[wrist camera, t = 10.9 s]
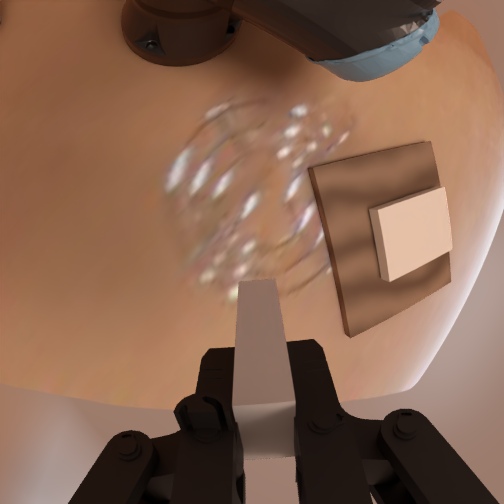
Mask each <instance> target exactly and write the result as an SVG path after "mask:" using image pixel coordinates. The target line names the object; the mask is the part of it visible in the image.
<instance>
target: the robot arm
mask: <svg viewBox="0 0 504 504" xmlns="http://www.w3.org/2000/svg"><path fill="white" fill-rule="evenodd" d="M442 1H443V0H126V2H125V5H124V7H123V10H122V16H121V24H122V30H123V34H124V37H125V40H126V42H127V44H128V45H129V47H130V48H131V49H132V50H133V51H134V52H135V53H136V54H138V55H139V56H140V57H142V58H144V59H146V60H148V61H150V62H153V63H156V64H160V65H166V66H187V65H193V64H198V63H201V62H204V61H207V60H209V59H211V58H213V57H215V56H217V55H218V54H220V53H221V52H223V51H224V50H225V49H226V48H227V47H228V46H229V45H230V44H231V43H232V41H233V40H234V38H235V37H236V35H237V33H238V30H239V28H240V26H241V23H242V19H244V20H246V21H248V22H250V23H252V24H253V25H255V26H257V27H259V28H261V29H263V30H264V31H266V32H268V33H270V34H272V35H273V36H275V37H277V38H278V39H280V40H282V41H283V42H285V43H287V44H288V45H290V46H292V47H293V48H295V49H297V50H298V51H300V52H301V53H303V54H304V55H305V57H306V58H307V59H308V60H309V61H311V62H312V63H316V64H318V65H321V66H323V67H324V68H326V69H328V70H329V71H331V72H332V73H334V74H335V75H337V76H338V77H340V78H342V79H344V80H350V81H355V82H364V81H370V80H374V79H377V78H380V77H382V76H385V75H387V74H389V73H391V72H393V71H395V70H397V69H398V68H400V67H402V66H403V65H405V64H406V63H408V62H409V61H411V60H412V59H413V58H414V57H416V56H417V55H418V54H419V53H420V52H421V51H422V46H423V45H425V44H427V43H430V42H431V40H432V39H433V38H434V36H435V35H436V33H437V30H438V27H439V17H438V15H437V13H436V10H435V8H434V7H436V6H437V5H438V4H440V3H441V2H442ZM174 414H175V417H176V419H177V421H178V424H179V426H180V428H181V430H179V431H177V432H176V433H173V434H170V435H166V436H162V437H157V438H152V439H150V438H149V437H148V436H147V435H146V434H144V433H142V432H140V431H133V430H130V431H124V432H121V433H119V434H117V435H115V436H114V437H113V438H112V439H111V440H110V441H109V442H108V443H107V445H106V447H105V448H104V450H103V451H102V453H101V454H100V456H99V457H98V459H97V460H96V462H95V463H94V465H93V466H92V468H91V469H90V471H89V472H88V474H87V475H86V477H85V478H84V480H83V481H82V483H81V484H80V486H79V488H78V489H77V491H76V492H75V494H74V495H73V497H72V498H71V500H70V501H69V503H68V504H245V473H244V469H243V463H244V462H243V461H244V459H245V460H255V459H270V458H281V457H291V456H295V459H296V482H297V485H298V486H297V487H298V495H299V504H373V502H372V498H371V494H372V496H373V498H374V499H375V501H376V502H377V504H499V503H498V501H497V500H496V499H495V498H494V497H493V496H492V494H491V493H490V492H489V491H488V490H487V488H486V487H485V486H484V484H483V483H482V482H481V481H480V480H479V479H478V477H477V476H476V475H475V474H474V473H473V471H472V470H471V469H470V468H469V467H468V465H467V464H466V463H465V462H464V461H463V460H462V458H461V457H460V456H459V455H458V454H457V453H456V451H455V450H454V449H453V448H452V447H451V445H450V444H449V443H448V442H447V441H446V440H445V438H444V437H443V436H442V435H441V434H440V433H439V432H438V430H437V429H436V428H435V427H434V426H433V425H432V423H431V422H430V421H429V420H428V419H427V418H426V417H425V416H424V415H423V414H421V413H420V412H418V411H415V410H412V409H399V410H396V411H392V412H391V413H390V414H388V415H387V416H386V417H385V418H384V420H369V419H360V418H357V417H354V416H351V415H349V414H348V413H347V412H345V411H344V409H343V408H342V407H341V405H340V403H339V401H338V397H337V394H336V390H335V387H334V384H333V380H332V377H331V374H330V370H329V367H328V364H327V361H326V357H325V354H324V351H323V348H322V347H321V346H320V345H319V344H318V343H317V342H316V341H315V340H314V339H308V340H300V341H290V342H286V338H285V332H284V326H283V320H282V314H281V308H280V302H279V297H278V291H277V285H276V279H264V280H252V281H241V282H239V287H238V304H237V321H236V339H235V347H228V348H210V349H209V350H208V351H207V352H206V353H205V355H204V356H203V357H202V359H201V364H200V372H199V375H198V381H197V387H196V393H195V394H192V395H190V396H188V397H185V398H184V399H182V400H181V401H180V402H179V403H178V404H177V406H176V408H175V410H174ZM370 493H371V494H370Z"/></svg>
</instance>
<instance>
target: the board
mask: <svg viewBox="0 0 504 504" xmlns="http://www.w3.org/2000/svg"><path fill="white" fill-rule="evenodd" d="M308 171H309V174H310V178H311V182H312V186H313V189H314V193H315V197H316V201H317V205H318V209H319V213H320V217H321V221H322V225H323V229H324V233H325V238H326V242H327V246H328V251H329V255H330V259H331V264H332V269H333V273H334V278H335V283H336V288H337V293H338V298H339V303H340V308H341V313H342V318H343V324H344V329H345V334H346V335H347V336H348V337H350V338H352V337H354V336H356V335H358V334H360V333H362V332H364V331H366V330H368V329H370V328H371V327H373V326H375V325H377V324H379V323H381V322H383V321H385V320H387V319H388V318H390V317H392V316H394V315H396V314H398V313H399V312H401V311H403V310H405V309H407V308H408V307H410V306H412V305H414V304H415V303H417V302H419V301H420V300H422V299H424V298H426V297H427V296H429V295H431V294H432V293H434V292H436V291H437V290H439V289H440V288H442V287H444V286H445V285H447V284H448V283H450V282H451V272H450V257H449V251H448V252H447V253H445V254H443V255H441V256H439V257H437V258H436V259H434V260H432V261H430V262H428V263H426V264H424V265H422V266H420V267H419V268H417V269H415V270H413V271H411V272H409V273H407V274H405V275H403V276H401V277H399V278H397V279H395V280H393V281H391V282H388V281H386V280H383V279H381V273H380V267H379V261H378V255H377V249H376V243H375V238H374V232H373V227H372V222H371V217H370V212H369V209H371V208H374V207H377V206H380V205H383V204H386V203H388V202H391V201H394V200H397V199H400V198H403V197H406V196H409V195H412V194H415V193H418V192H421V191H424V190H427V189H430V188H433V187H435V186H439V187H441V186H440V181H439V176H438V171H437V166H436V161H435V156H434V152H433V148H432V143H431V141H428V142H422V143H417V144H412V145H407V146H403V147H398V148H393V149H388V150H384V151H379V152H375V153H370V154H366V155H362V156H357V157H353V158H349V159H345V160H341V161H337V162H333V163H329V164H325V165H321V166H317V167H313V168H309V169H308Z"/></svg>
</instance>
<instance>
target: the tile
mask: <svg viewBox="0 0 504 504" xmlns="http://www.w3.org/2000/svg"><path fill="white" fill-rule="evenodd" d="M369 212H370V217H371V222H372V227H373V232H374V238H375V243H376V249H377V255H378V261H379V267H380V273H381V279H383V280H386V281H388V282H391V281H393V280H395V279H397V278H399V277H401V276H403V275H405V274H407V273H409V272H411V271H413V270H415V269H417V268H419V267H420V266H422V265H424V264H426V263H428V262H430V261H432V260H434V259H436V258H437V257H439V256H441V255H443V254H445V253H447V252H448V251H450V250H452V249H453V247H452V237H451V228H450V219H449V212H448V205H447V198H446V192H445V187H439V186H435V187H433V188H430V189H427V190H424V191H421V192H418V193H415V194H412V195H409V196H406V197H403V198H400V199H397V200H394V201H391V202H388V203H386V204H383V205H380V206H377V207H374V208H371V209H369Z"/></svg>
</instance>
